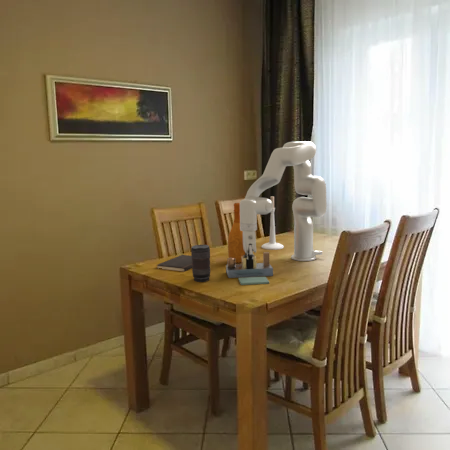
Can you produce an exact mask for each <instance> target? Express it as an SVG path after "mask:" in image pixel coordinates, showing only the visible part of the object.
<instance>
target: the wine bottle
mask: <svg viewBox="0 0 450 450" xmlns="http://www.w3.org/2000/svg"><path fill="white" fill-rule="evenodd" d="M233 212H234V218H233V222H232V223H233V224H232V225H231V228H230V231H229V234H228V237H227V250H228V251H227V252H228V258H235V264H242V256H243V255H245V251H244V249H243V231H240V202H234V203H233Z"/></svg>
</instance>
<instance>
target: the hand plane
mask: <svg viewBox="0 0 450 450" xmlns="http://www.w3.org/2000/svg"><path fill="white" fill-rule="evenodd" d="M262 259H263V260H262V261H263V262H258V263H257V262H256V267H255V268H243V267H242V263H235V258H229V257H228V258H227V264H225V268H226V269H225V272H226V273H225V274H226V275H227V277H228V278H229V279H230V278H231V279H232V278H233V279H234V278H236V279H237V278H246V277H273V276H274V267H273V266H272V265H271V263H270V252H269V251H263V255H262Z"/></svg>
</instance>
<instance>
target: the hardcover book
mask: <svg viewBox="0 0 450 450" xmlns="http://www.w3.org/2000/svg"><path fill="white" fill-rule="evenodd" d="M155 266H157V269H159V268H162V269H161V270H170V271H178V272H187V271H189V270H192V257H191V255H187V254H181V255H179V256H176V257H173V258H171V259H167V260H166V261H163V262H161V263H158V264H156V265H155Z"/></svg>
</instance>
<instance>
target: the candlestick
mask: <svg viewBox="0 0 450 450" xmlns="http://www.w3.org/2000/svg"><path fill="white" fill-rule="evenodd" d="M270 200H271V202H272V203H273V209H272V211H271V212H270V218H269V219H270V220H269V221H270V222H269V241H268V242H266V243H264V244H262V245H261V249H263V250H269V251H270V250H271V251H273V250H274V251H277V250H281V249H284V245H283V244H282V243H279V242H276V241H277V240H276V226H275V225H276V223H275V210H276V207H275V196H273V195H272V196H270Z"/></svg>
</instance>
